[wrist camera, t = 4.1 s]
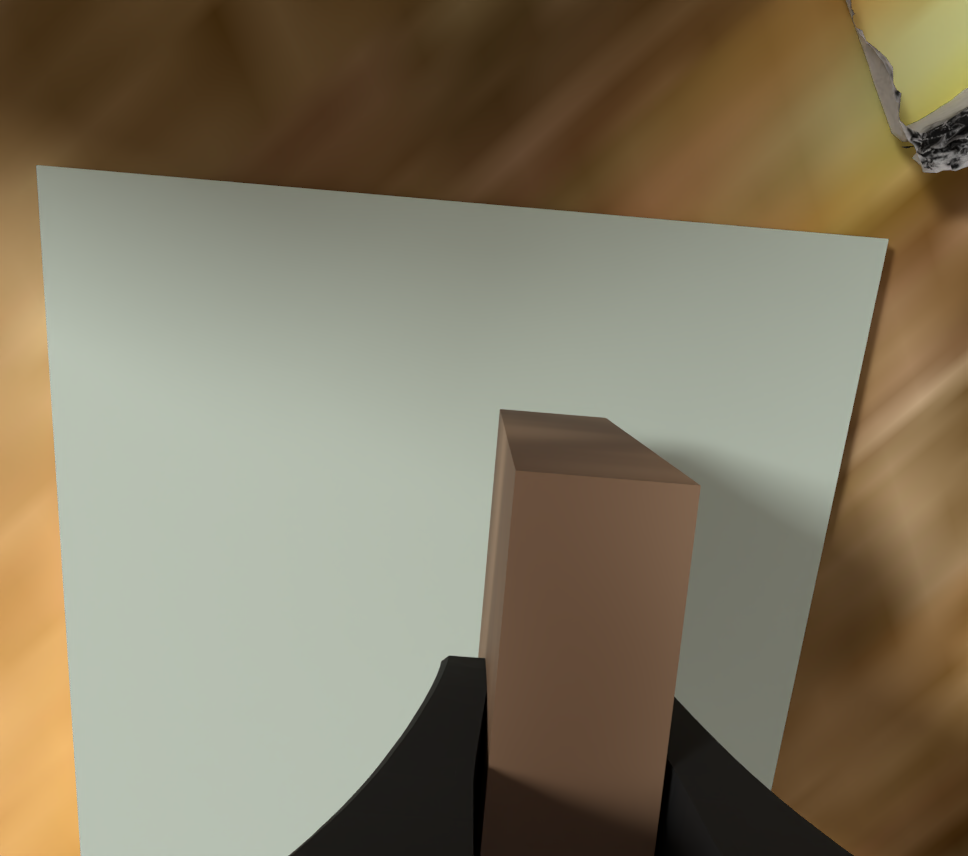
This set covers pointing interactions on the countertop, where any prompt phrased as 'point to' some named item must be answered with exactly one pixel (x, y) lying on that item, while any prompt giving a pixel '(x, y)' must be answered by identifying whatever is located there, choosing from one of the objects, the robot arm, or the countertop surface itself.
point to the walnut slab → (579, 637)
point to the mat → (396, 467)
